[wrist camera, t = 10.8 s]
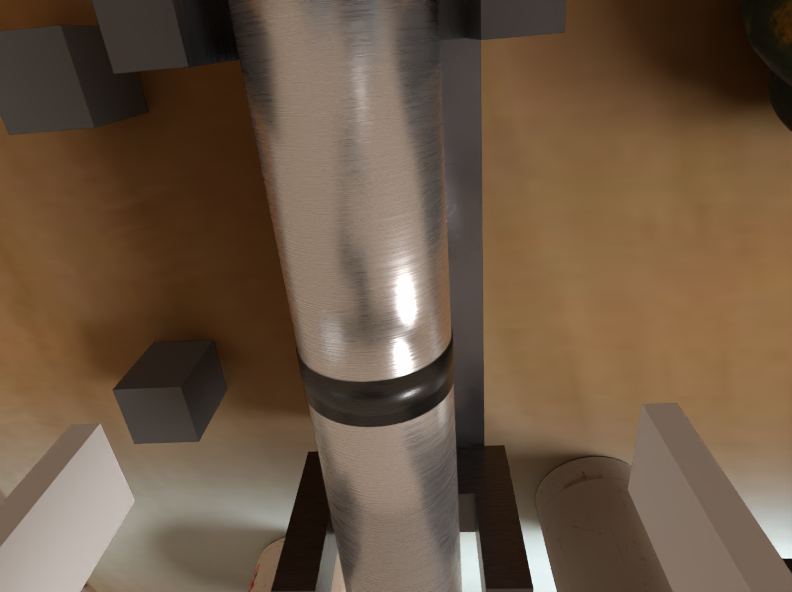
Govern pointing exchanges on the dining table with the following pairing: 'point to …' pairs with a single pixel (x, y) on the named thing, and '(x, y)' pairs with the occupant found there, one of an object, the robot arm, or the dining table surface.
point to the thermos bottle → (596, 530)
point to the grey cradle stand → (461, 109)
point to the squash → (773, 48)
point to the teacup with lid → (268, 567)
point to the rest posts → (88, 108)
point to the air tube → (365, 267)
